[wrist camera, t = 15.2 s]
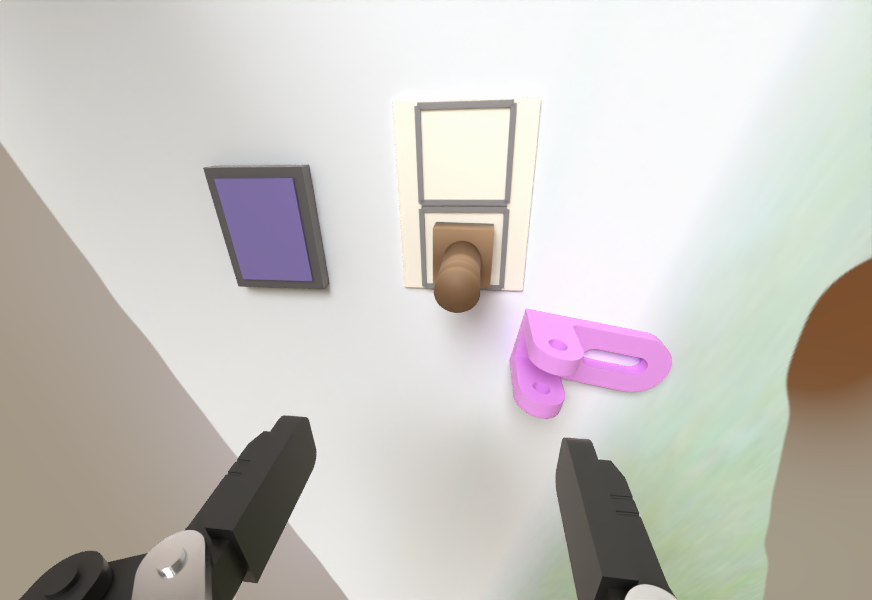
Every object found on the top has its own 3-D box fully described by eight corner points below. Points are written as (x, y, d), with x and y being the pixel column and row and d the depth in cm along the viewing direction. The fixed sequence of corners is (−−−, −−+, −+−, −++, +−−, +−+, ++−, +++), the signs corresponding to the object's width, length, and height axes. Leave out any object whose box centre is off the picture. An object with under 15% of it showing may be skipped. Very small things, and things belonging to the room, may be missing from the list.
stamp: (436, 221, 28) (419, 255, 21) (493, 223, 27) (497, 259, 20) (435, 274, 30) (420, 322, 23) (489, 277, 29) (491, 326, 22)
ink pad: (213, 166, 28) (201, 168, 27) (308, 164, 27) (300, 167, 26) (246, 280, 33) (237, 287, 31) (329, 283, 32) (322, 290, 30)
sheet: (393, 102, 25) (391, 102, 24) (540, 98, 23) (541, 97, 23) (405, 285, 31) (404, 288, 30) (522, 289, 30) (522, 291, 29)
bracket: (509, 359, 33) (515, 412, 27) (525, 307, 31) (536, 354, 24) (647, 387, 33) (686, 448, 27) (676, 337, 30) (725, 392, 24)
